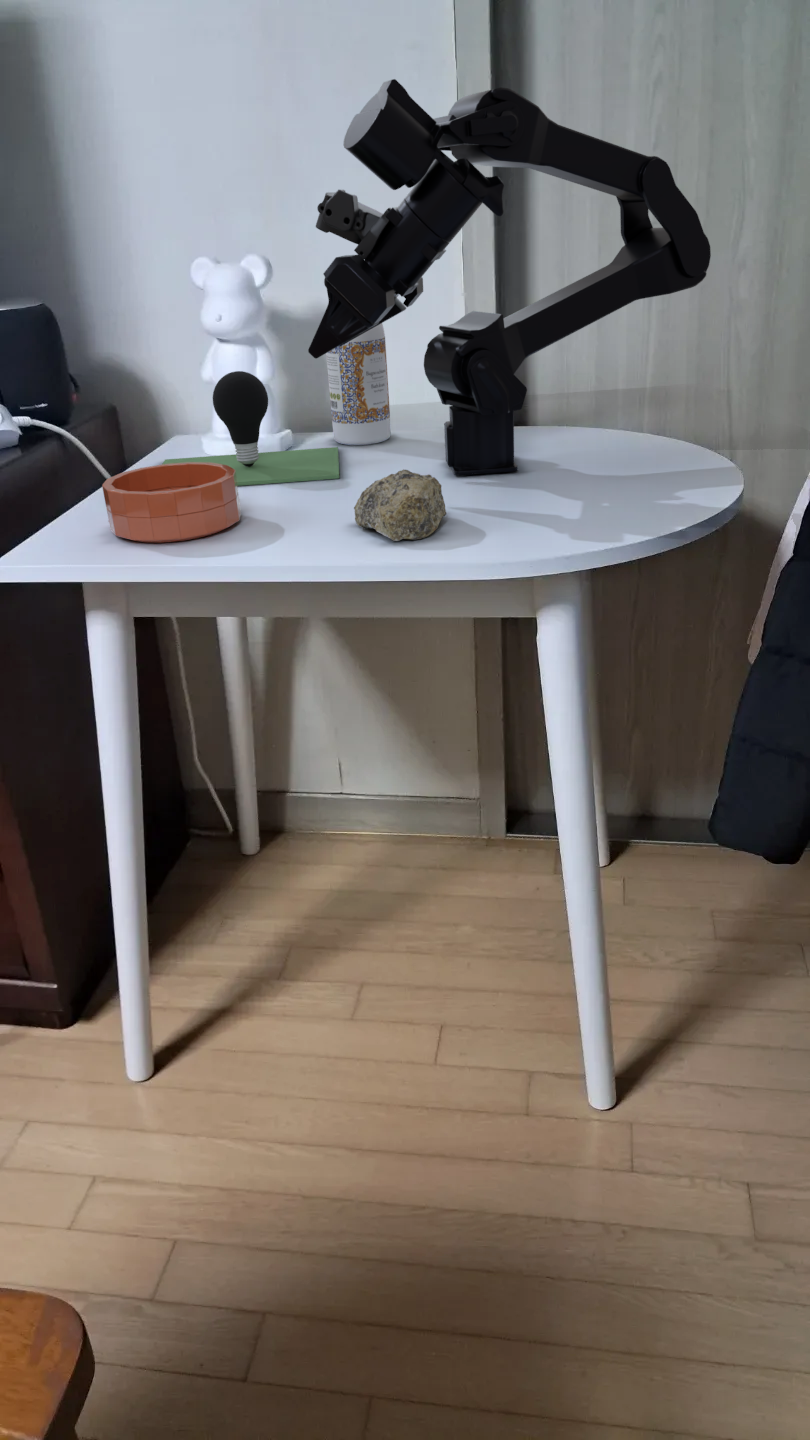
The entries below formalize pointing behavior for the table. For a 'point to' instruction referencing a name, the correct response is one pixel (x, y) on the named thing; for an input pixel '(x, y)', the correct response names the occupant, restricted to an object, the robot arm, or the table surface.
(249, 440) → the light bulb
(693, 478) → the table surface
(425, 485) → the rock
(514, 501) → the table surface
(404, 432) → the table surface
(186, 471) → the pot
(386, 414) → the bath foam
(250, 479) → the mat
